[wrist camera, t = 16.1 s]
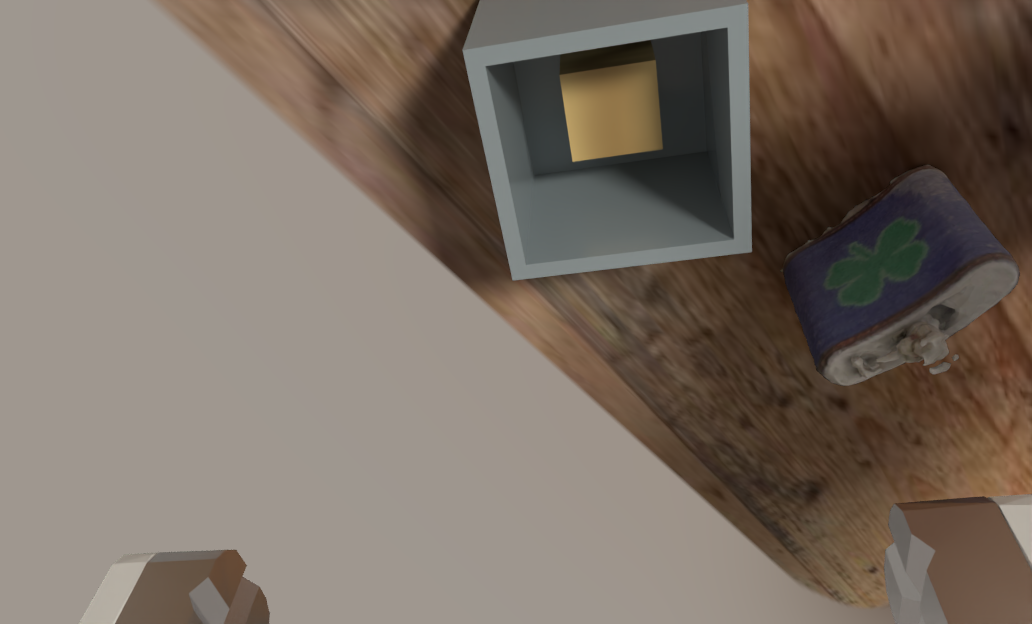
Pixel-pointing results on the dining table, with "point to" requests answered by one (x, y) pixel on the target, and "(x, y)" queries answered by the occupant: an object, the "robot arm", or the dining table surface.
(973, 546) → the robot arm
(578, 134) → the block
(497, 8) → the grey open box
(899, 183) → the flask
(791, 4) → the dining table surface
